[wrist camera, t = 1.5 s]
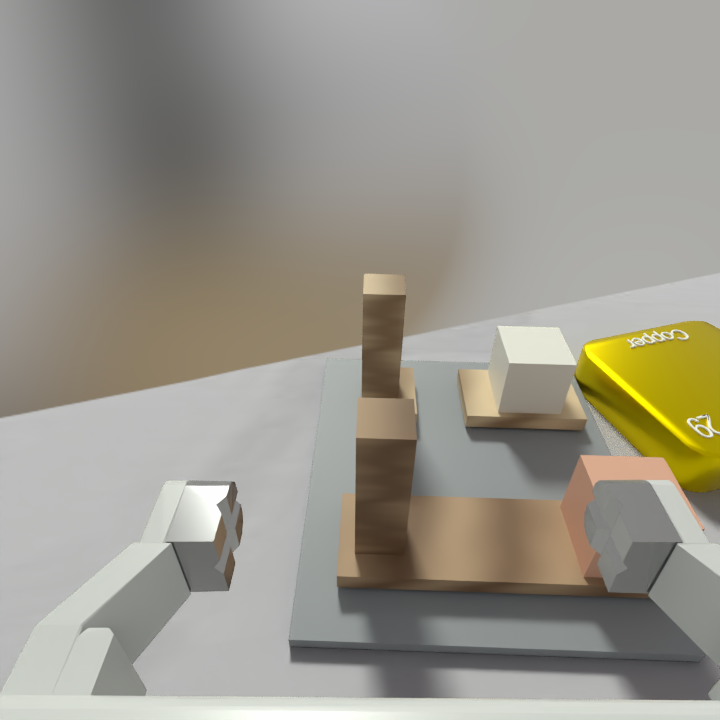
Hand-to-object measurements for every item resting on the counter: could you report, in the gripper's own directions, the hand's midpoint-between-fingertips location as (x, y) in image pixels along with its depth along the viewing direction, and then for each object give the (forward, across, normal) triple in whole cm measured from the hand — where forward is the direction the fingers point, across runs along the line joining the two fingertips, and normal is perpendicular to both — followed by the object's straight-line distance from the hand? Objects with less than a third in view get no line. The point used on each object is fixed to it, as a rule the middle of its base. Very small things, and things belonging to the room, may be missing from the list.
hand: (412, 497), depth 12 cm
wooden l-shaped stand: (+12, -7, +20) cm, 24 cm away
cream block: (+26, -12, +19) cm, 34 cm away
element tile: (+27, -27, +22) cm, 44 cm away
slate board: (+19, -6, +21) cm, 29 cm away
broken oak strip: (+26, -7, +20) cm, 34 cm away
